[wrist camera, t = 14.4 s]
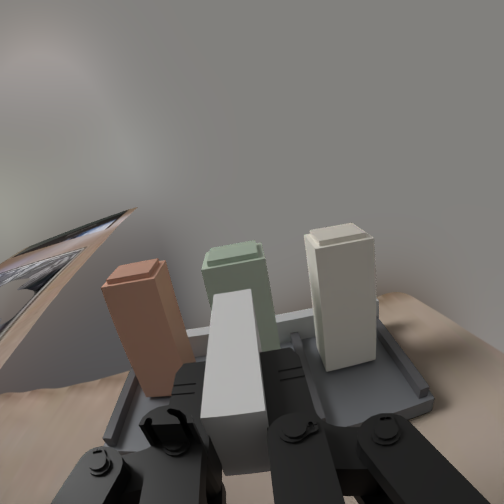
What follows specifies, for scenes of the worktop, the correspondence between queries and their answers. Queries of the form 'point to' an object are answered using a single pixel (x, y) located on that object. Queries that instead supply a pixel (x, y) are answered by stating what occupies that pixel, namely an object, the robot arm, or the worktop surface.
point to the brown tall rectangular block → (148, 323)
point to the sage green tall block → (243, 283)
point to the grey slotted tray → (319, 381)
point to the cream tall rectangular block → (343, 294)
